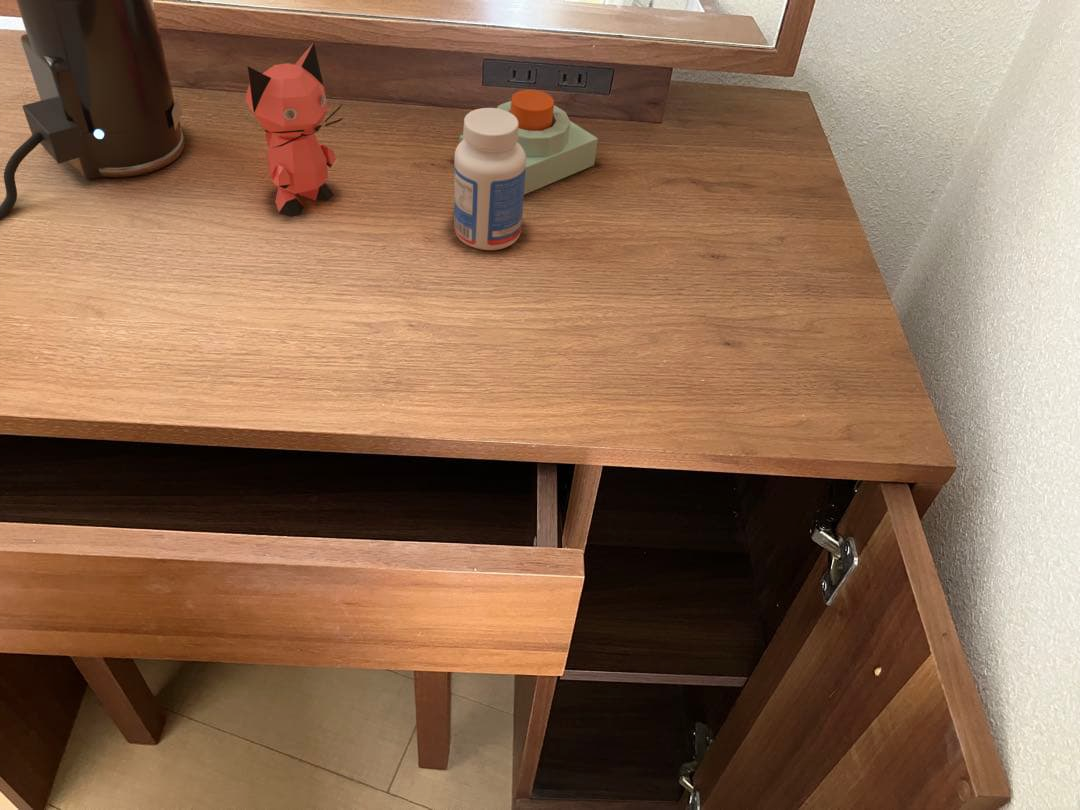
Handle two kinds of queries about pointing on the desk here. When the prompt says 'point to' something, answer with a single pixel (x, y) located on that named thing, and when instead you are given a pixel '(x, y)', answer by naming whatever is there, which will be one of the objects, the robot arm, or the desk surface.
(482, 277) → the desk surface
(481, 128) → the pill bottle
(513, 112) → the orange cylinder plug
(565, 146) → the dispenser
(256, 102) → the cat figurine
